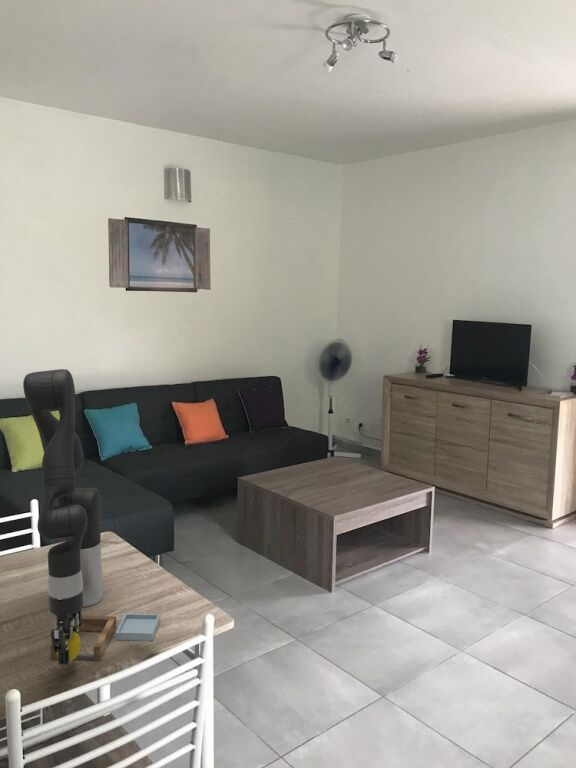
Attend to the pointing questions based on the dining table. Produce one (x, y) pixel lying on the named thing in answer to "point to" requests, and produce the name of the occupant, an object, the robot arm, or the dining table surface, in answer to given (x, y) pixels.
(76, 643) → the lemon
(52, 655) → the wooden letter tray
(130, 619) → the dish
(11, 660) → the dining table surface
